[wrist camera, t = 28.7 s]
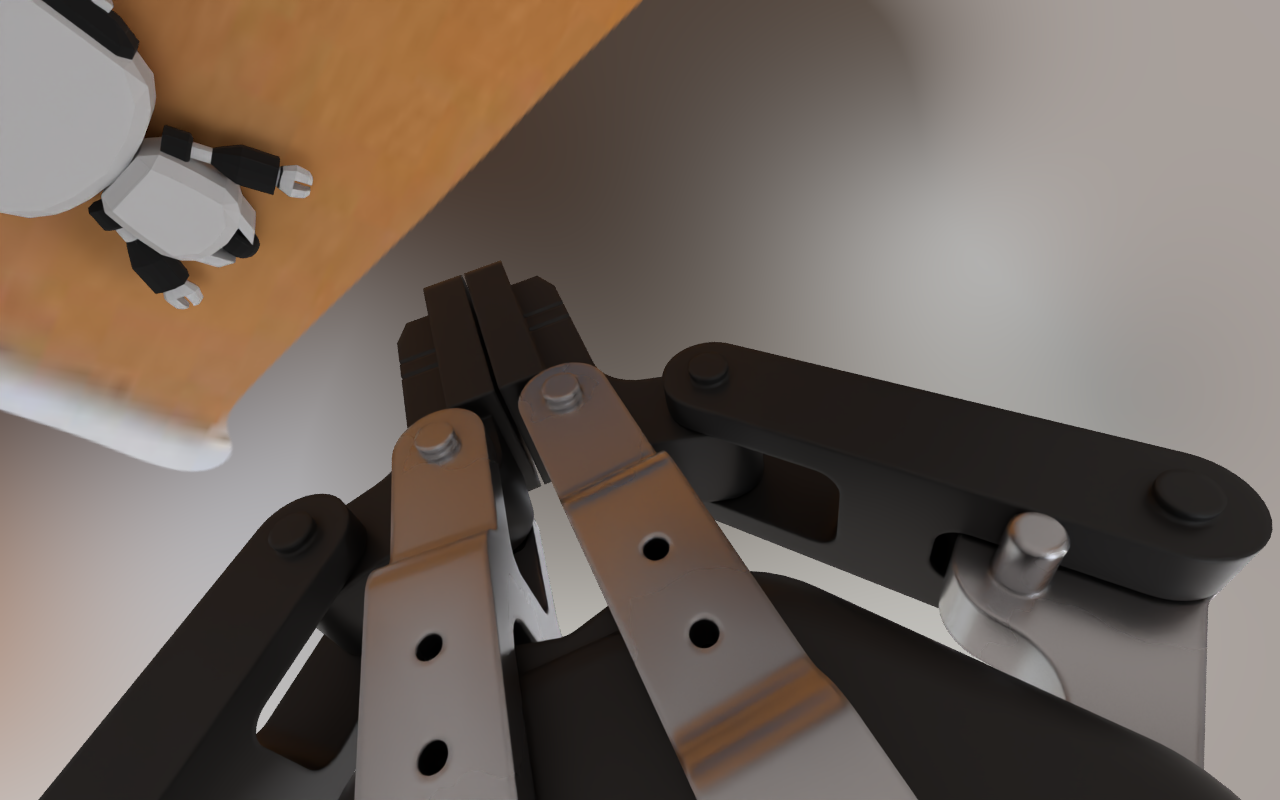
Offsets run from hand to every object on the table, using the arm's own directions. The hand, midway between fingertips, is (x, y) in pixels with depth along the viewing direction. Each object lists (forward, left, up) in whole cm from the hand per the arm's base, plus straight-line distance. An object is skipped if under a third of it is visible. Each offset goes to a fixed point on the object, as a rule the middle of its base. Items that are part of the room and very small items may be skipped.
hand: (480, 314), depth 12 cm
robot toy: (-14, -5, -29) cm, 33 cm away
